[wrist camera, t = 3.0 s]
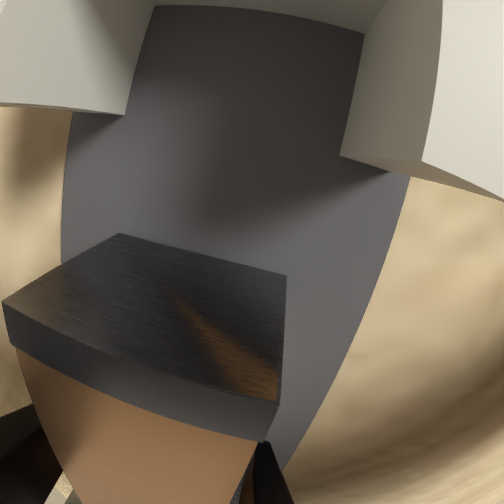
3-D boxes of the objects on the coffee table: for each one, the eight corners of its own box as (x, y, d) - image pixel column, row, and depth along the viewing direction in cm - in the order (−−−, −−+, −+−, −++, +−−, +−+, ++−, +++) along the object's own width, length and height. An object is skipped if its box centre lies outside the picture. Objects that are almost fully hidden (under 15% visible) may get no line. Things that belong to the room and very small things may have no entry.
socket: (416, 29, 5) (515, -55, 1) (390, 171, 6) (517, 207, 2) (123, -12, 5) (22, -81, 1) (86, 112, 6) (-54, 107, 2)
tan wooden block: (286, 275, 7) (280, 404, 3) (206, 518, 12) (191, 573, 8) (119, 232, 7) (1, 301, 3) (134, 495, 12) (112, 547, 8)
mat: (430, 28, 5) (435, 24, 5) (240, 525, 13) (240, 529, 12) (117, -17, 5) (113, -21, 5) (107, 484, 13) (105, 488, 13)
